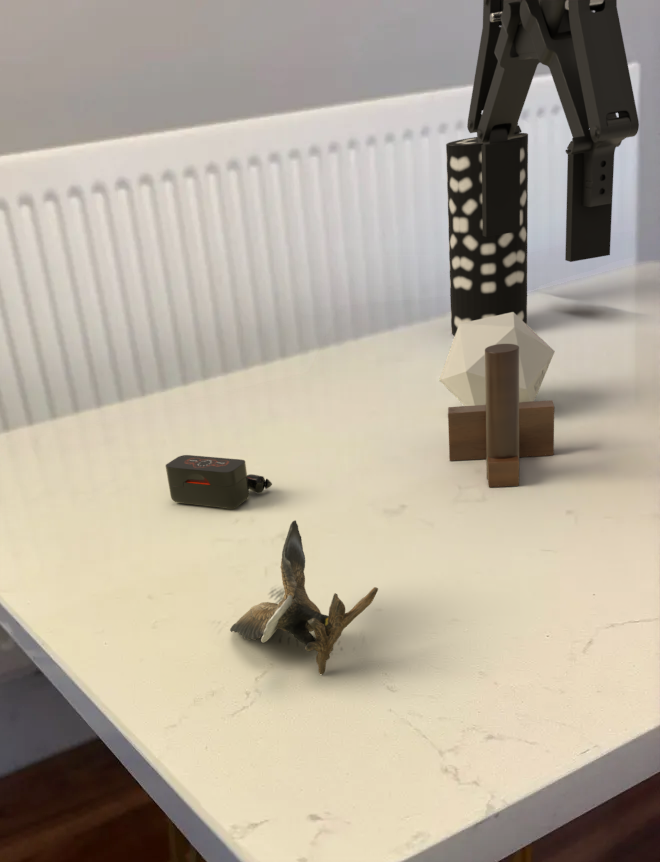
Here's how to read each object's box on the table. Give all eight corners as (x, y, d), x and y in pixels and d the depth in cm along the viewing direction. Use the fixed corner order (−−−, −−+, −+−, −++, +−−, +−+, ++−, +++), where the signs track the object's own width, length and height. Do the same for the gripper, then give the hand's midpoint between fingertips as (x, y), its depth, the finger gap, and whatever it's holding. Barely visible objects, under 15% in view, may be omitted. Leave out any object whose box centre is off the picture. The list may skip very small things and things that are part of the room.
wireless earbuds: (243, 513, 79) (238, 473, 78) (168, 504, 83) (162, 466, 81) (273, 490, 82) (269, 452, 81) (199, 483, 86) (194, 446, 85)
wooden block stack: (559, 484, 76) (562, 350, 71) (448, 489, 78) (444, 359, 73) (552, 448, 82) (554, 323, 78) (449, 454, 84) (445, 332, 80)
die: (547, 432, 87) (583, 320, 87) (455, 396, 85) (492, 282, 85) (499, 440, 96) (531, 338, 96) (414, 408, 94) (447, 303, 94)
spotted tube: (525, 317, 119) (526, 130, 110) (528, 335, 112) (529, 137, 103) (452, 323, 122) (447, 140, 112) (450, 341, 115) (445, 148, 105)
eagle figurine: (408, 625, 58) (323, 549, 65) (354, 559, 53) (268, 484, 60) (312, 718, 59) (236, 633, 65) (249, 661, 54) (174, 575, 60)
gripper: (417, -73, 74) (428, 232, 84) (586, -145, 52) (574, 280, 62) (516, -87, 75) (515, 218, 85) (724, -165, 53) (691, 260, 63)
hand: (540, 245), depth 73 cm, fingers open, 13 cm apart
